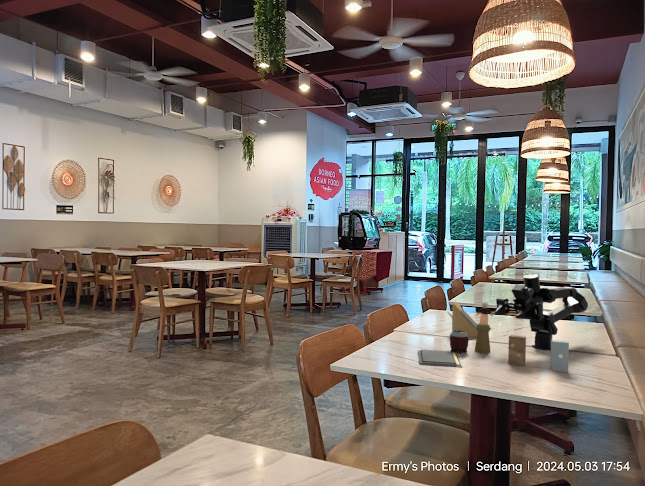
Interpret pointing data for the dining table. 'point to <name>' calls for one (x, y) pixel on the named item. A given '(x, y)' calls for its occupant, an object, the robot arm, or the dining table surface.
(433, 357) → the grey notebook
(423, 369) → the dining table surface
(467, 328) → the sandwich container
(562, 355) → the grey rectangular block
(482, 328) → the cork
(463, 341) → the mate gourd
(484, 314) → the grandmother figurine
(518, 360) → the brown rectangular box
